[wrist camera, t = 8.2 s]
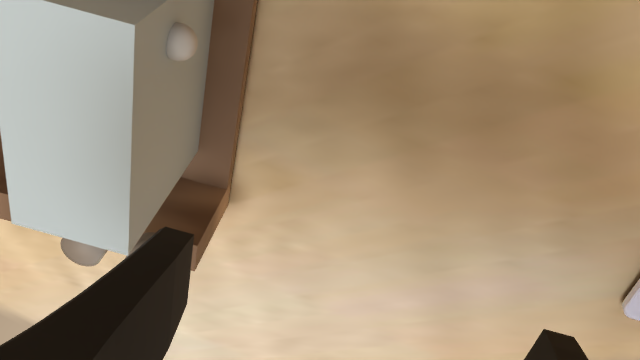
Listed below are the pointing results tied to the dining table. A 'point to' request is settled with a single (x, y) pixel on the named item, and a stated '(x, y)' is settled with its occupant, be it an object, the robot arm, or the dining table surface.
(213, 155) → the wooden rimmed tray
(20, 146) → the grey block
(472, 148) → the dining table surface
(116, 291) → the robot arm
